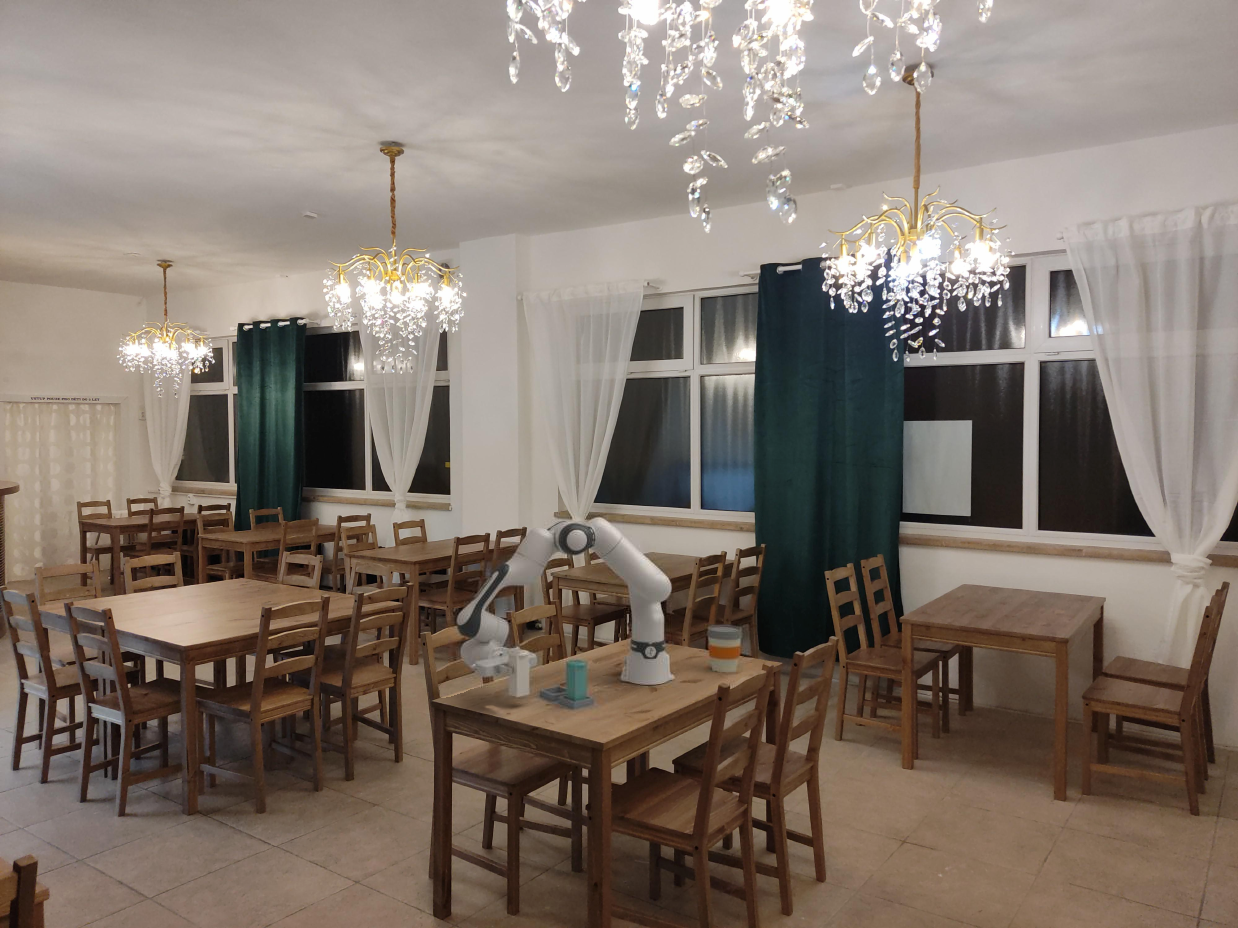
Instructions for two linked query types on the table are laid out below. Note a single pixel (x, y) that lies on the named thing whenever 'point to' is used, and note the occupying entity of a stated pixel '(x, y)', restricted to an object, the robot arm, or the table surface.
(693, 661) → the table surface
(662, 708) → the table surface
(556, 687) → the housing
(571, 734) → the table surface
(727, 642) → the reusable coffee cup
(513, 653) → the post
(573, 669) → the teal square canister
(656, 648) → the robot arm
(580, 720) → the table surface
